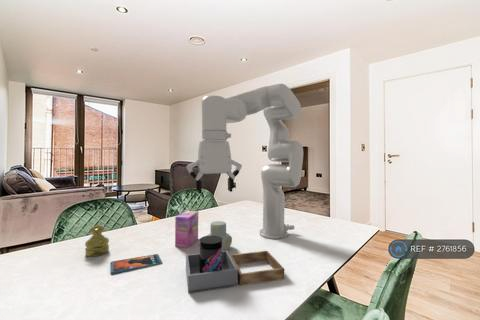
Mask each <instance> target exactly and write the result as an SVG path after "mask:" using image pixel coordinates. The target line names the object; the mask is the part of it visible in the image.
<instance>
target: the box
mask: <svg viewBox="0 0 480 320" xmlns="http://www.w3.org/2000/svg"><path fill="white" fill-rule="evenodd" d="M174 227H175V230H174V232H175V233H174V246H175V247H178V248H185V249H186V248H189V247H190V246H191V245H193V244H194V243H195V241H197V240H198V239H199V211H196V210H185V211H184V212H181V213H180V214H178V215H176V216H175V225H174Z"/></svg>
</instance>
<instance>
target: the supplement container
mask: <svg viewBox="0 0 480 320" xmlns="http://www.w3.org/2000/svg"><path fill="white" fill-rule="evenodd" d="M222 245H223V239H222V238H221V237H219V236H214V235H210V236H207V235H204V236H202V237H200V238H199V245H198V246H199V254H200V255H199V273H206V272H214V271H222Z"/></svg>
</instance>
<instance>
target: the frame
mask: <svg viewBox="0 0 480 320" xmlns="http://www.w3.org/2000/svg"><path fill="white" fill-rule="evenodd" d="M229 255H230V257H231V258H232V260H233V262H234V264H235V266H236V268H237V269H238V283H239V284H238V285H239V286H246V285H253V284H260V283H265V282H273V281H279V280H285V267H283V266H282V264H280V262H278V260H277V259H276V258H275V257H274V256H273V255H272V254H271V253H270V252H269V251H268V250H262V251H251V252H244V253H243V252H242V253H235V254H234V253H233V254H229ZM262 261H263V262H264V261H266V262H267V263H268V264H269V266H270V267H271V269H264V270H257V271H248V272H242V271H241V269H240V268H239V266H238V264H247V263H255V262H256V263H257V262H262Z"/></svg>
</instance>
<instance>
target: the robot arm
mask: <svg viewBox="0 0 480 320" xmlns="http://www.w3.org/2000/svg"><path fill="white" fill-rule="evenodd" d="M261 111H263V116H264V118H265V121H266V123H267V124H268V127H269V131H270V132H269V141H268V148H267V157H268V160H270V161H271V162H276V163H273V164H272V163H271V164H266V165H265V166H263V167H262V168H261V171H260V175H261V182H262V184H261V185H262V191H263V193H262V195H263V197H262V200H263V201H262V228H261V229H259V235H260V236H261V237H263V238H265V239H271V240H273V239H274V240H277V239H279V240H280V239H284V238H287V237H288V236H289V233H288V231H289V230H291V231H292V230H295V225H294V224H291V225H290V224H286V223H285V204H286V203H285V201H286V200H285V199H286V197H285V193H284V190H283V189H282V187H284V188H285V187H286V188H296V187H298V186H299V185H300V182H301V178H302V172H303V171H302V170H303V161H304V147H303V144H302V143H301V142H300V141H298V140H289V136H290V135H289V134H290V131H289V128H288V127H287V125H285V123H284V122H283V121H287V120H288V121H289V120H295V119H297V118H299V117H300V115H301V113H302V106H301V103H300V101H299V100H298V98H297V97H296V95H295V94H294V92H293V91H292V90H291V88H290V87H288V86H287V85H286V84H284V83H276V84H271V85H265V86H261V87H258V88H256V89H252V90H250V91H246V92H242V93H240V94H237V95H233V96H230V97H227V98H225V97H223V96H220V95H206V96H204V97H203V98H202V100H201V135H202V136H201V137H202V138H201V139H202V141H199V144H198V151H197V152H198V153H197V160H195V161H193V162H192V163H189V164H188V165H186V169H187V171H188V174H189V175H190V176H191V177H192V178H193V179H195V190H196V191H197V193H198V194H199V195H200V194H201V195H202V180H201V178H202V177H203V176H204V175H216V174H226V175H227V176H228V178H227V190H228V192H230V193H231V192H233V189H235V184H234V183H235V179H236V177H237V176H238V175H239V174H240V172H241V171H240V170H242V167H243V165H242V164H240V163H239V162H237V161H235V160H233V159H232V154H231V146H230V142H229V141H227V140H228V139H232V134H231V133H229V132H228V131H227V124H234V123H239V122H242V121H244V120H245V119H246V117H247V116H250V115H255V114H258V113H259V112H261ZM278 163H279V164H278ZM280 163H288V164H280ZM232 166H235V170H234V171H232ZM195 167H197V171H198V173H195V172H194V169H193V168H195Z"/></svg>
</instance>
